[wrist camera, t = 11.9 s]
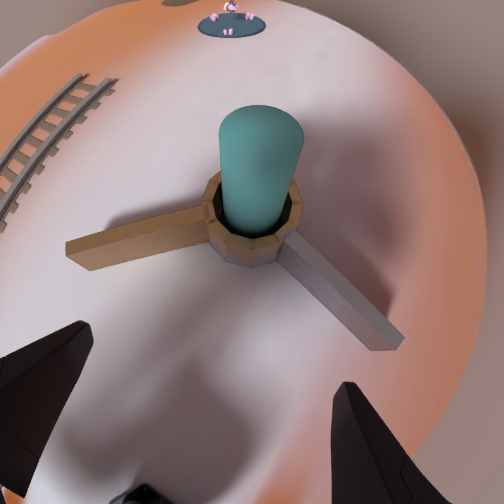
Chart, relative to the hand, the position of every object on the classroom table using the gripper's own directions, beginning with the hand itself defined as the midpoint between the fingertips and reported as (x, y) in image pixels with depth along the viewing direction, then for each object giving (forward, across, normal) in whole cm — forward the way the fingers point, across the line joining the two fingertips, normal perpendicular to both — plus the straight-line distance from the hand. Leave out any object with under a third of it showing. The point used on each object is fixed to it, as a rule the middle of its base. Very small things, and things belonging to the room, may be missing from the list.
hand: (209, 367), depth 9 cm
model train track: (+21, +32, 0) cm, 38 cm away
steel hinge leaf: (+15, -5, +4) cm, 16 cm away
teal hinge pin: (+18, 0, +2) cm, 18 cm away
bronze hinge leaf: (+15, +5, +4) cm, 17 cm away
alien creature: (+45, +11, -25) cm, 53 cm away
